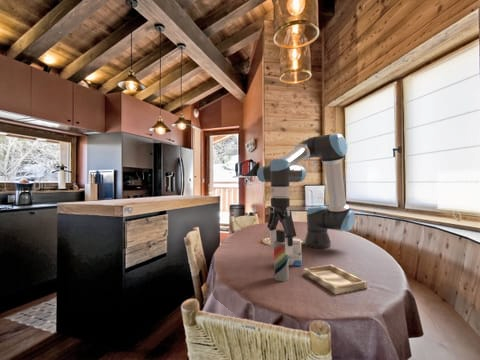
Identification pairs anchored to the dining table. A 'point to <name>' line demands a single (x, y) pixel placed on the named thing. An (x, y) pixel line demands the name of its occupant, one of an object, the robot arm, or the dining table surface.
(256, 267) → the dining table surface
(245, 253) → the dining table surface
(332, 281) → the tray
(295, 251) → the ink box
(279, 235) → the lotion bottle
